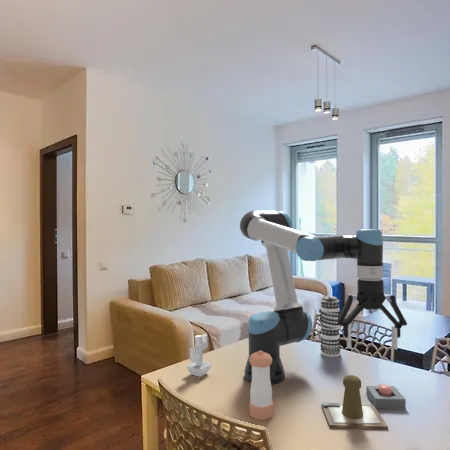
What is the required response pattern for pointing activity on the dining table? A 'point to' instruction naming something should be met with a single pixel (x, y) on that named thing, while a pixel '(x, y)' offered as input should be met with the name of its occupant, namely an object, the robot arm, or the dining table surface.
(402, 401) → the button housing
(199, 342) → the figurine
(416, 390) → the dining table surface
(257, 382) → the pepper shaker
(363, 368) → the dining table surface
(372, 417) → the clipboard
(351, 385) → the pepper shaker
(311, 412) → the dining table surface
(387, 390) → the button
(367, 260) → the robot arm
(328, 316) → the decorative candle
